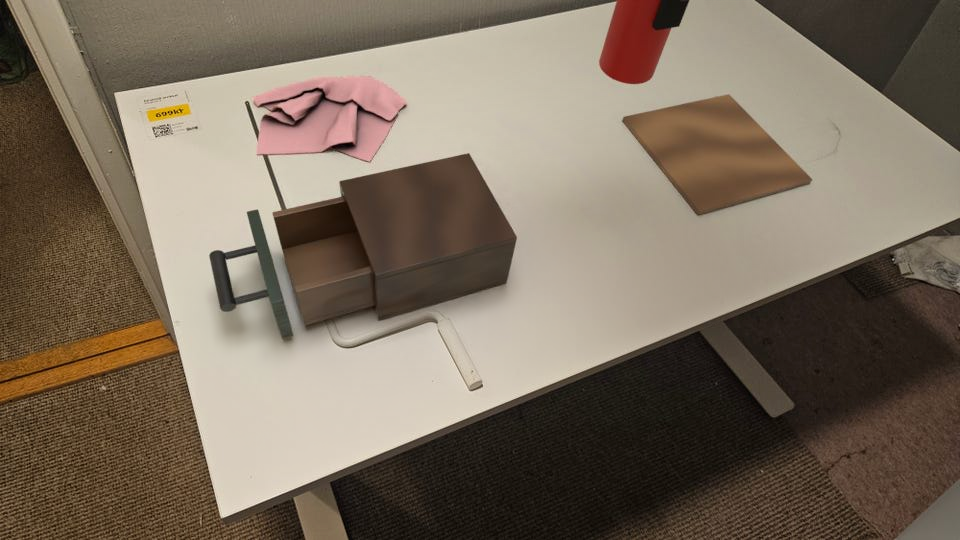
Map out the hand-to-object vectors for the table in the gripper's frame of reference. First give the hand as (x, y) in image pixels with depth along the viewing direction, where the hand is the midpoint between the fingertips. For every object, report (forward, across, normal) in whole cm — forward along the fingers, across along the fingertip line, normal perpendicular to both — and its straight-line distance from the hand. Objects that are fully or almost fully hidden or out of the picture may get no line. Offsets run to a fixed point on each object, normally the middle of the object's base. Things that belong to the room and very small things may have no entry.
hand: (646, 7), depth 60 cm
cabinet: (+27, +3, -24) cm, 36 cm away
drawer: (+26, +3, -37) cm, 45 cm away
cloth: (+27, -25, -28) cm, 47 cm away
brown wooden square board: (+27, -2, +23) cm, 36 cm away
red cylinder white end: (+7, 0, 0) cm, 7 cm away
